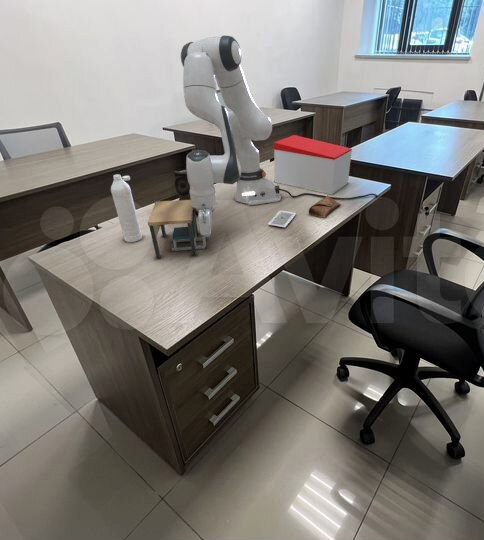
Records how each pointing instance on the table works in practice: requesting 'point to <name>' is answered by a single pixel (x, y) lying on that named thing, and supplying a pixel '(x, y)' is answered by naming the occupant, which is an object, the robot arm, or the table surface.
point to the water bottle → (125, 208)
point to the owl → (183, 186)
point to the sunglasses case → (323, 207)
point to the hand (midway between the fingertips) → (208, 234)
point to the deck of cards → (282, 218)
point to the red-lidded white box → (311, 164)
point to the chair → (186, 237)
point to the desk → (171, 220)
